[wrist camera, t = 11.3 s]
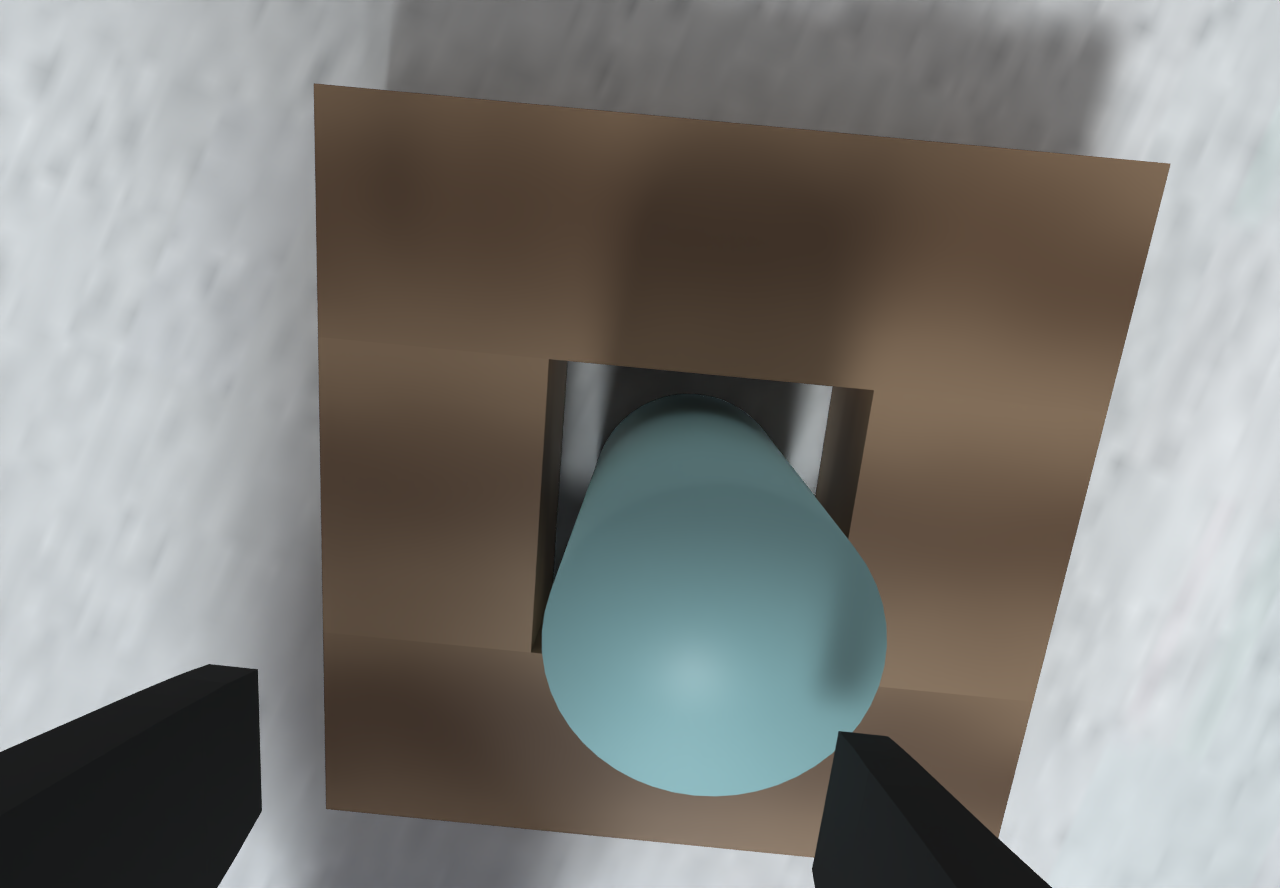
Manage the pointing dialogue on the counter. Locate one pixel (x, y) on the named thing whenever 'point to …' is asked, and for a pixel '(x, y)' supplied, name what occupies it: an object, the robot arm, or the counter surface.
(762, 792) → the walnut well block
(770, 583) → the teal peg
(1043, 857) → the counter surface
